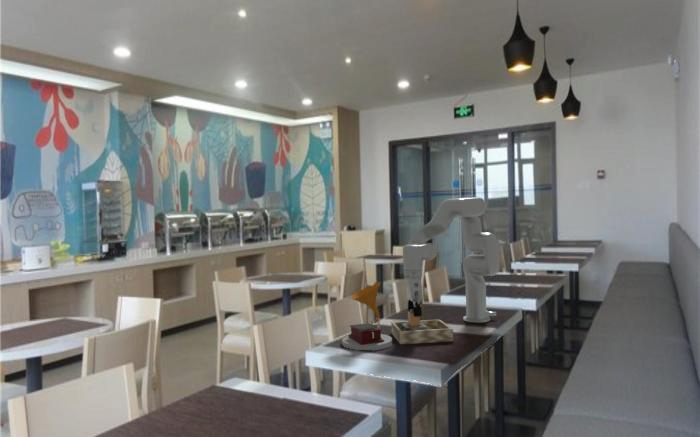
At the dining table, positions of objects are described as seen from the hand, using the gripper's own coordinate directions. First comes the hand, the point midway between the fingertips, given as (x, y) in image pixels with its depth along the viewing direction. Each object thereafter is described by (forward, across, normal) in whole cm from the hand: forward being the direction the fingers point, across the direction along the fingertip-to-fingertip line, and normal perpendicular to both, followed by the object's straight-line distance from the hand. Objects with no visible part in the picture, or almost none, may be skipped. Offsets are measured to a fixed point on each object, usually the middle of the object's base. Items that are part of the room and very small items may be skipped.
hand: (414, 313), depth 207 cm
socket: (+10, -1, +1) cm, 10 cm away
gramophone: (+10, -6, +22) cm, 25 cm away
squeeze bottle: (+11, +24, -6) cm, 27 cm away
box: (+10, -1, -2) cm, 10 cm away
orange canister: (+9, -1, +1) cm, 9 cm away
